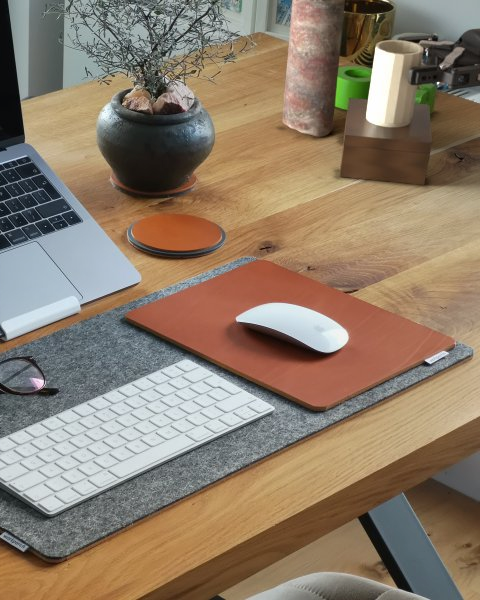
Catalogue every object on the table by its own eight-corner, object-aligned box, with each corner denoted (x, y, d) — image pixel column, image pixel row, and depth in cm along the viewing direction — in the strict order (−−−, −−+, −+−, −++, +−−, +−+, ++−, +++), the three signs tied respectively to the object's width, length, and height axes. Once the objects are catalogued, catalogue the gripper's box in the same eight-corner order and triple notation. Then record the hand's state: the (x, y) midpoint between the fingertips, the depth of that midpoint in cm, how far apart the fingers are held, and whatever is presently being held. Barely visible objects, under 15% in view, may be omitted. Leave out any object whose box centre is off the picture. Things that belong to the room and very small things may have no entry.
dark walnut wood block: (422, 144, 158) (429, 104, 155) (424, 185, 146) (431, 142, 143) (343, 137, 160) (348, 97, 157) (339, 176, 149) (344, 134, 146)
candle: (278, 136, 161) (291, -2, 150) (281, 117, 167) (294, -17, 157) (331, 140, 159) (349, 1, 149) (332, 121, 165) (349, -14, 155)
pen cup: (411, 113, 152) (422, 41, 147) (411, 129, 147) (423, 56, 142) (366, 109, 153) (376, 38, 148) (365, 125, 148) (375, 52, 143)
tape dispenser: (322, 104, 172) (325, 75, 169) (341, 91, 177) (345, 62, 174) (415, 125, 164) (420, 96, 162) (433, 111, 169) (438, 82, 167)
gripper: (474, 12, 154) (369, 22, 150) (538, 43, 143) (426, 55, 139) (464, 64, 158) (362, 75, 154) (525, 99, 146) (417, 112, 142)
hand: (392, 66), depth 146 cm, fingers open, 8 cm apart
